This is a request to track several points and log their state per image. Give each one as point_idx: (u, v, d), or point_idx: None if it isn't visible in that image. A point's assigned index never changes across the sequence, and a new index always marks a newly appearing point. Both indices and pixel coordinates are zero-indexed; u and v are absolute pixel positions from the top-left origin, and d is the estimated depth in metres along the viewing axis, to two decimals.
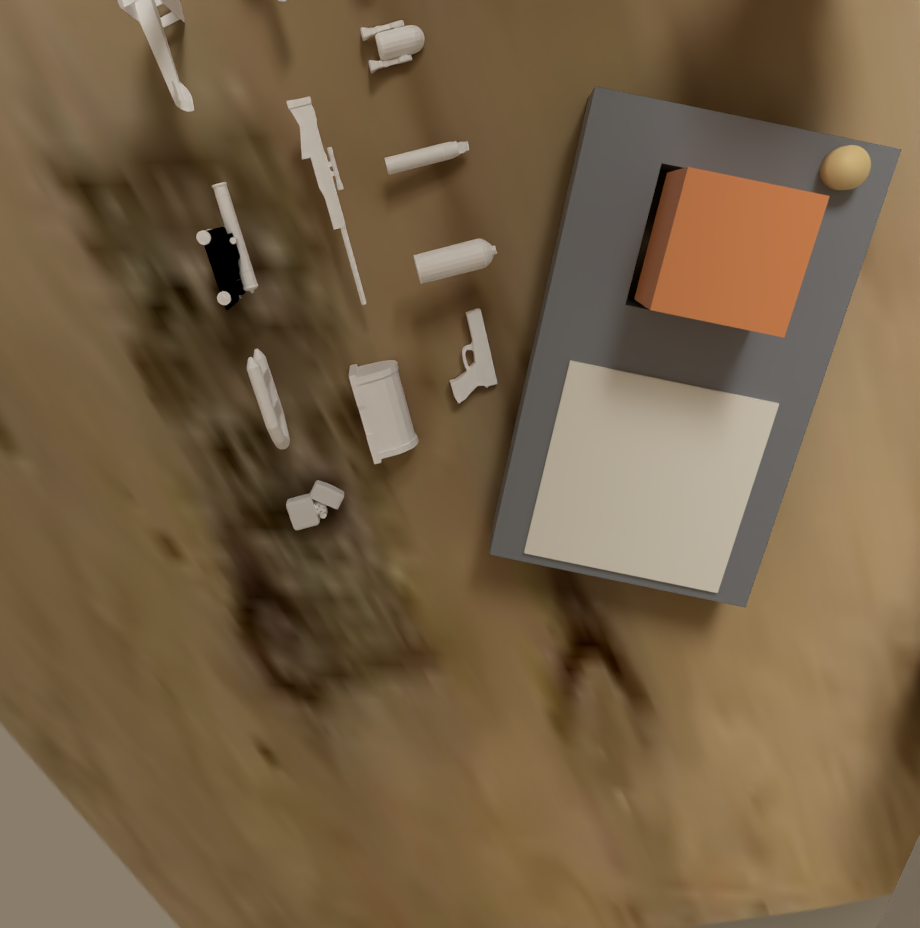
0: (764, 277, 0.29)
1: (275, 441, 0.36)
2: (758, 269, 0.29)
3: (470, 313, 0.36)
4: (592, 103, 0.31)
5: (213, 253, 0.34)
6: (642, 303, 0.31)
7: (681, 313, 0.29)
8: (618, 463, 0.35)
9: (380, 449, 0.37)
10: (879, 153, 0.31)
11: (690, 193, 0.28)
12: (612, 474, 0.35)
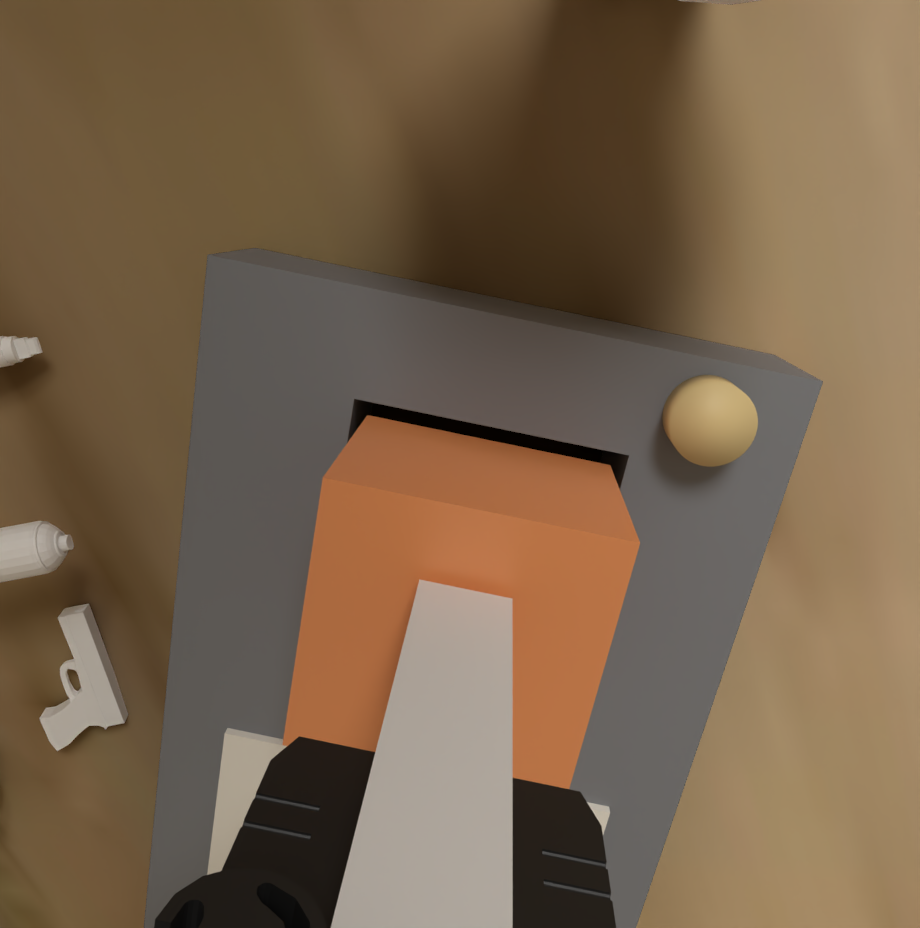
0: None
1: None
2: None
3: (66, 617, 0.21)
4: (207, 286, 0.16)
5: None
6: None
7: None
8: None
9: None
10: (779, 388, 0.15)
11: (336, 531, 0.13)
12: None
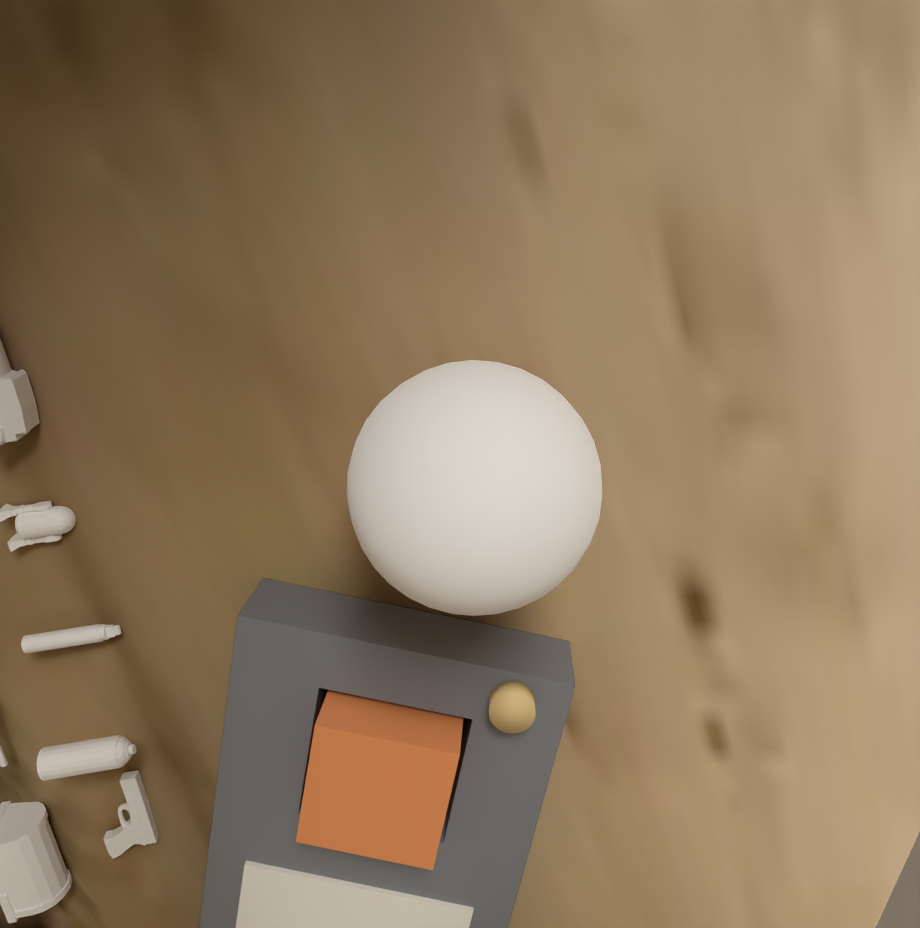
0: (405, 819, 0.28)
1: None
2: (398, 812, 0.28)
3: (124, 780, 0.33)
4: (236, 630, 0.28)
5: None
6: None
7: (327, 845, 0.29)
8: None
9: (16, 909, 0.34)
10: (552, 687, 0.28)
11: (321, 747, 0.27)
12: None
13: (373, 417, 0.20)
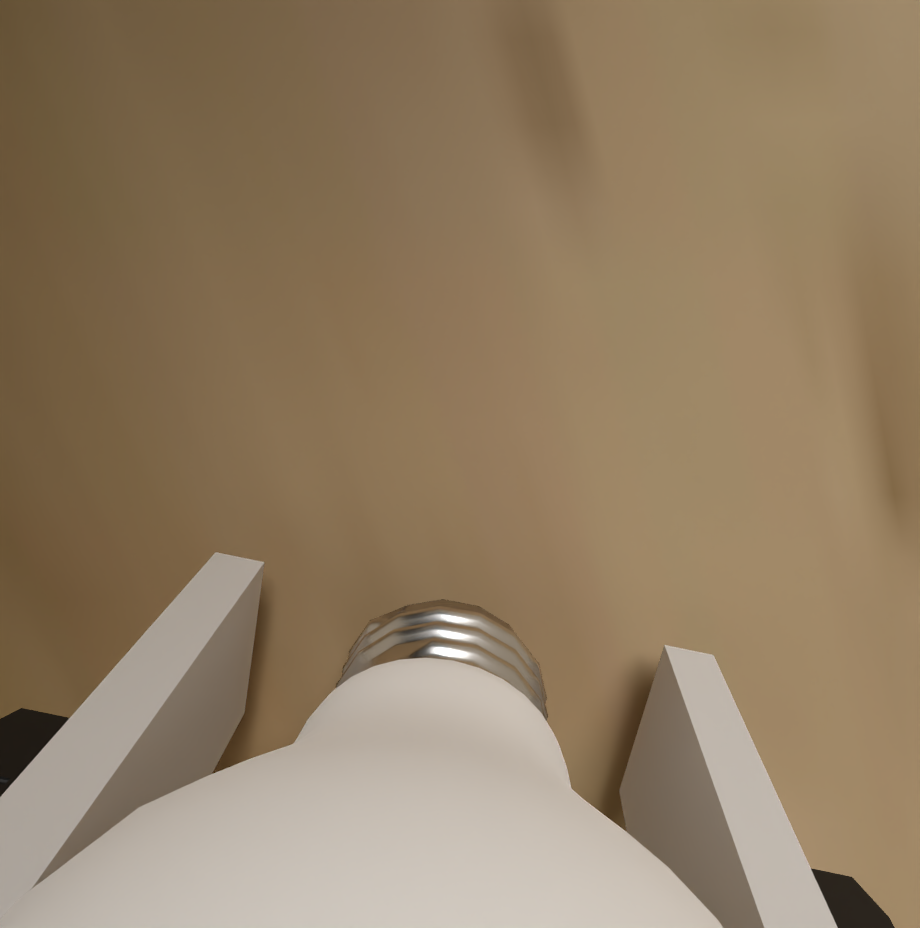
0: None
1: None
2: None
3: None
4: None
5: None
6: None
7: None
8: None
9: None
10: None
11: None
12: None
13: None
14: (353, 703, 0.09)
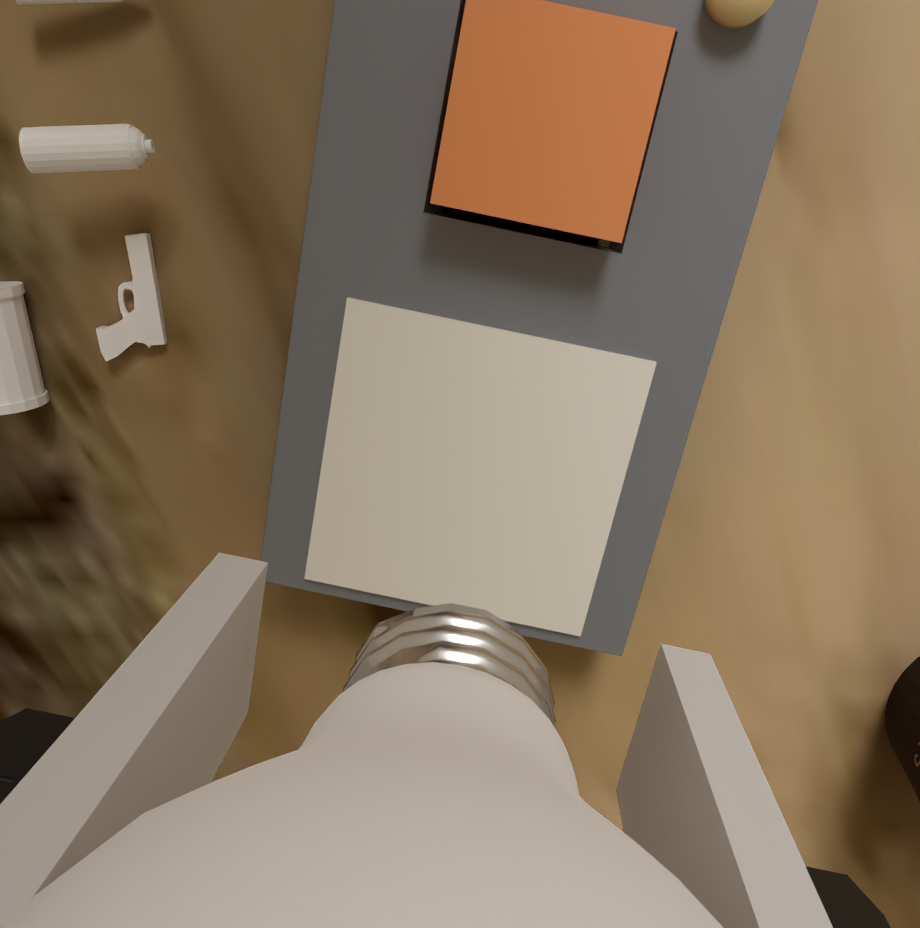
0: (588, 153, 0.20)
1: None
2: (579, 141, 0.20)
3: (132, 237, 0.25)
4: None
5: None
6: None
7: (474, 208, 0.20)
8: (428, 450, 0.24)
9: None
10: None
11: (475, 26, 0.19)
12: (421, 466, 0.24)
13: None
14: (359, 709, 0.09)
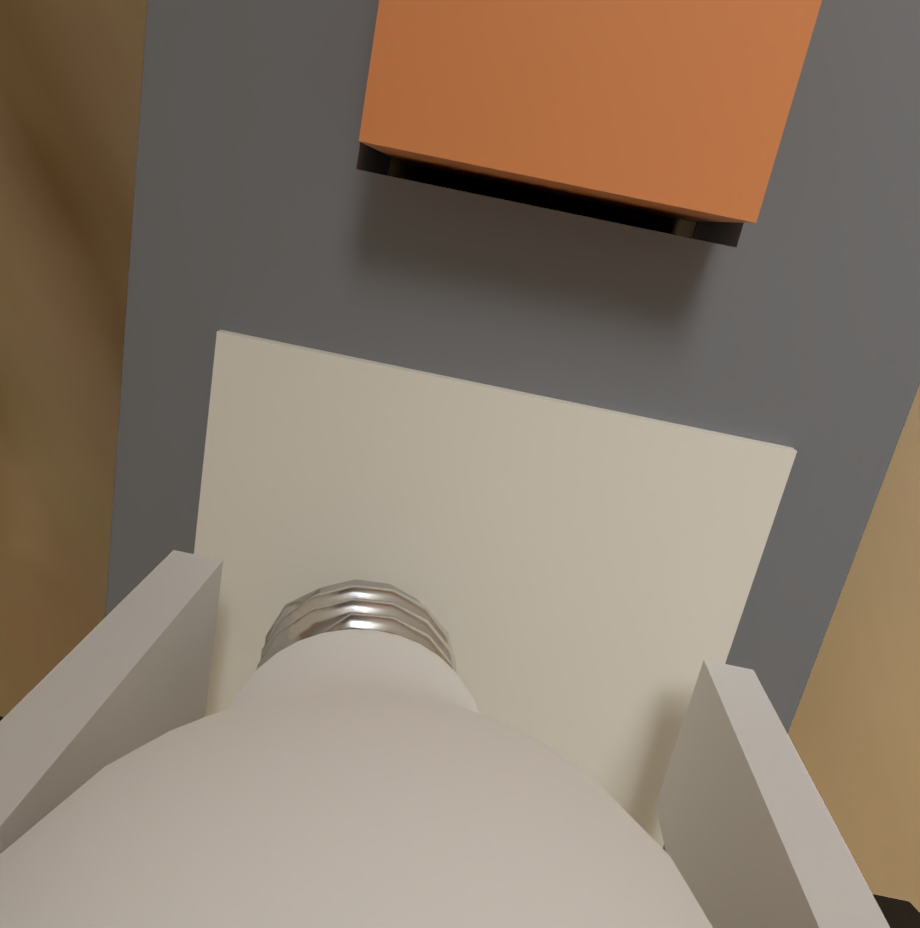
0: (692, 30, 0.09)
1: None
2: (674, 3, 0.09)
3: None
4: None
5: None
6: None
7: (451, 151, 0.10)
8: None
9: None
10: None
11: None
12: None
13: None
14: (283, 673, 0.09)
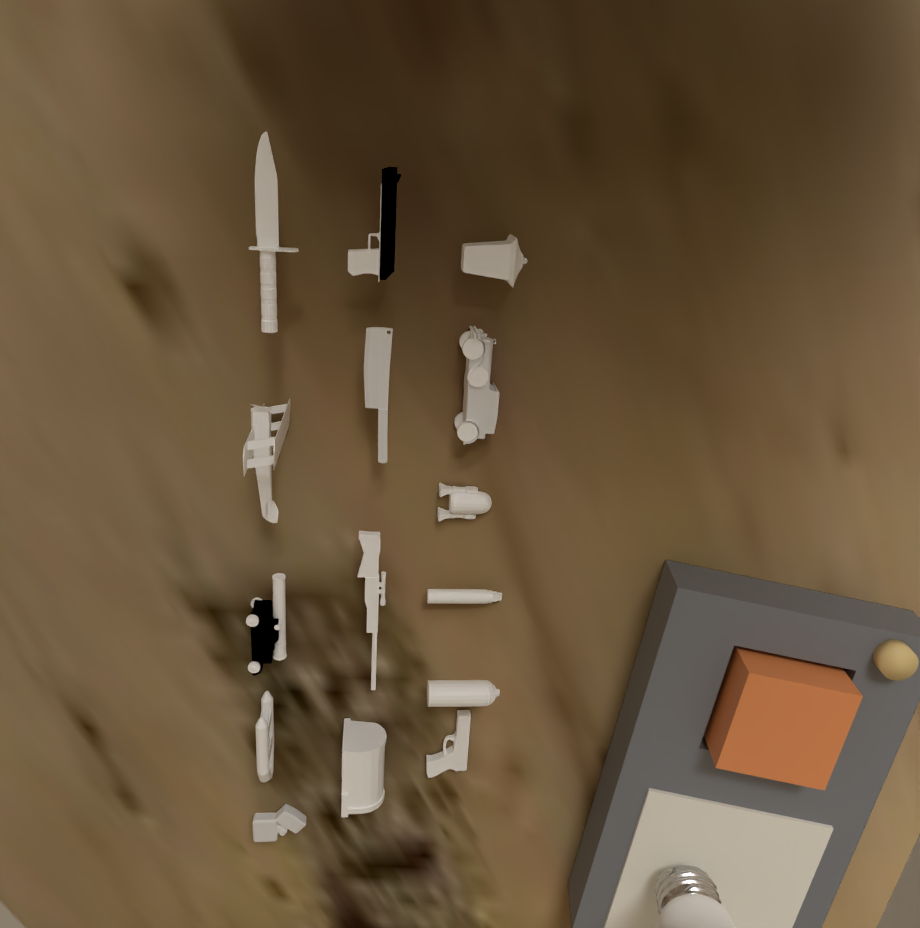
0: (809, 749, 0.36)
1: (261, 780, 0.40)
2: (804, 743, 0.35)
3: (461, 716, 0.41)
4: (674, 599, 0.36)
5: (256, 632, 0.38)
6: (706, 741, 0.38)
7: (741, 770, 0.36)
8: None
9: (350, 806, 0.41)
10: None
11: (750, 691, 0.35)
12: None
13: None
14: (685, 911, 0.36)
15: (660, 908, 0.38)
